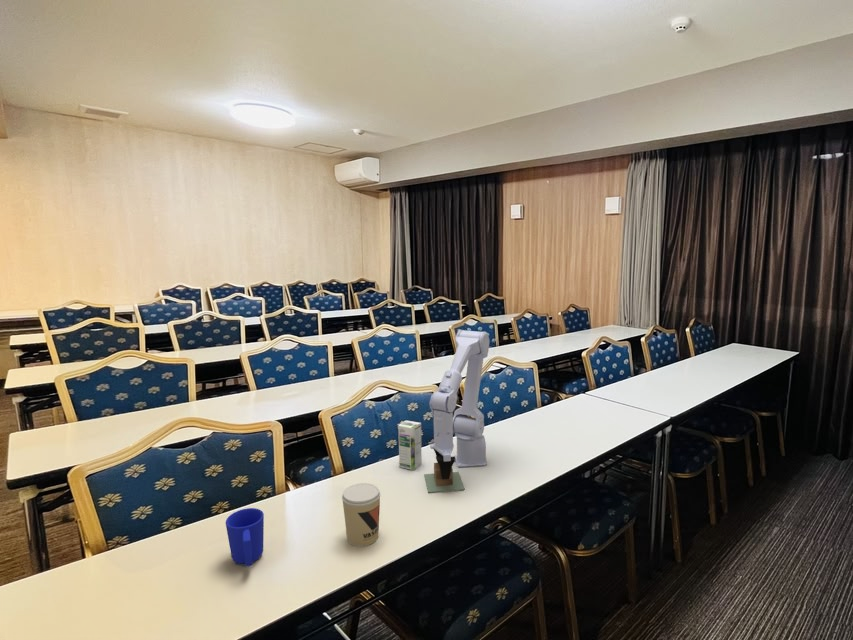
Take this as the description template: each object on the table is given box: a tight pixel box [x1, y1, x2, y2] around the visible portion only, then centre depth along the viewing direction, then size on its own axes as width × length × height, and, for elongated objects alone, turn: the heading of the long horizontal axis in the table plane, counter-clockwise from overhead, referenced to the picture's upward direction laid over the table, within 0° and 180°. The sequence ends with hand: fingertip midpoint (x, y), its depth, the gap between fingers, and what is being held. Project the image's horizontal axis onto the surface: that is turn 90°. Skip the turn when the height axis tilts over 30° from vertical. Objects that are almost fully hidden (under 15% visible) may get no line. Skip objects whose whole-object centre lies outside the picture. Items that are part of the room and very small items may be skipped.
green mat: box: [423, 471, 466, 494], centre depth 142 cm, size 11×11×1 cm
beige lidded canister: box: [341, 482, 381, 547], centre depth 115 cm, size 9×9×12 cm
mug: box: [225, 507, 265, 567], centre depth 106 cm, size 8×12×10 cm
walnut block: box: [433, 462, 454, 486], centre depth 141 cm, size 5×5×5 cm
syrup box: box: [397, 420, 423, 471], centre depth 152 cm, size 6×6×14 cm
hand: (443, 473), depth 141 cm, fingers open, 6 cm apart
